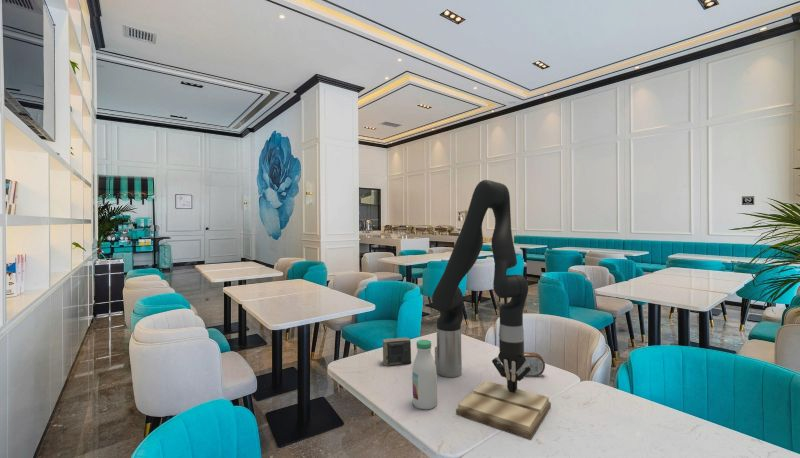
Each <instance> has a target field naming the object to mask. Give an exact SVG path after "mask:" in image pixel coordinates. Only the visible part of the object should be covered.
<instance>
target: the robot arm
mask: <svg viewBox="0 0 800 458" xmlns="http://www.w3.org/2000/svg"><path fill="white" fill-rule="evenodd" d="M488 209H490V210H492V213H493V216H494V229H493V233H492V236H491V237H492V238H491V252H492V256H493V261H494V271H493V273H494V274H493V283H492V284H493V285H492V286H493V291H494V293H495V295H496V296H497V297H498V298H499V299H510V298H511V299H510V301H509V302H507V303H504V304H502V305H500V307H499V328H498V330H499V331H498V338H499V340H498V342H499V344H498V345H499V346H498V348H499V353H498V355H497V357H494V358H493V359H492V360H491V363H492V364H493V366H494V368H496V370H497V372H498V373H499V375H500V376H501V377H502V378H505V379H506V386H507V388H508V389H509V391H510V392H513V393H514V392H515V391H516V390H517V389H518V382H521V380H523V378H525V377H526V376H525V375H526V374H527V373H528V372H529V371H530V370H531V369H532V368H533V366H532V365H529V364H528V363H527V362H526V359H525V357H524V352H525V335H524V334H525V331H524V323H523V322H524V319H523V318H524V317H523V316H524V314H523V313H524V309H525V305H526V300H527V296H528V293H529V283H528V280H527V278H526V277H525V276H524V275H522V274H507V271H508V269H511V268H515V267H516V266H517V264H518V259H517V255H516V253H517V252H516V249H515V246H514V240H513V232H512V218H511V216H512V215H511V213H512V212H511V197H510V191H509V188H508V187H507V185H505V184H504V183H501V182H497V181H493V180H490V179H483V180H481V181H479V182H478V183H477V184H476V185H475V188H474V189H473V193H472V196H471V200H470V203H469V206H468V209H467V214H466V216H465V219H464V221H463V224H462V227H461V230H460V231H459V234H458V237H457V238H456V241H455V244H454V246H453V249H452V252H451V254H450V256H449V259H448V261H447V264H446V266H445V269H444V271H443V273H442V275H441V278H440V279H439V282H437V285H436V287H435V289H434V290H433V293H432V297H431V302H432V306H433V308H434V309H435V311H437V312H440V315H439V316H438V318H437V320H436V323H435V324H436V346H435V347H434V361H435V364H436V372H437V374H438V375H439V376H442V377H444V378H457V377H459V376H461V375H462V371H463V370H462V366H463V364H462V363H463V362H462V358H463V357H462V322H463V318H464V296H463V294H464V293H463V292H462V290H461V288H460V287H459V286H460V283H461V282H462V280H463V279H464V278H465V277H466V275H467V274H468V273H469V272H470V271H471V269H472V268H473V266H474V265H475V263H476V262H477V260H478V258H479V255H480V253H481V251H482V249H483V244H484V235H483V222H484V218H485V216H486V213H487V211H488ZM522 365H524V367H523V369H524V371H523V372H522V373H521V374H520V375H518V371H519V369H520V368H521V366H522ZM503 366H504V367H505V368H504V367H503Z"/></svg>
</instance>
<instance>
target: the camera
mask: <svg viewBox="0 0 800 458" xmlns="http://www.w3.org/2000/svg"><path fill="white" fill-rule="evenodd" d="M411 343H412V342H411V339H410V337H397V338H396V337H395V338H385V339H383V340H382V358H383V359H382V360H383V361H382V362H383V365H384V366H386V365H387V366H396V365H395V364H398V365H405V363H407V364H411V363H412V347H411V345H412V344H411Z"/></svg>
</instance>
